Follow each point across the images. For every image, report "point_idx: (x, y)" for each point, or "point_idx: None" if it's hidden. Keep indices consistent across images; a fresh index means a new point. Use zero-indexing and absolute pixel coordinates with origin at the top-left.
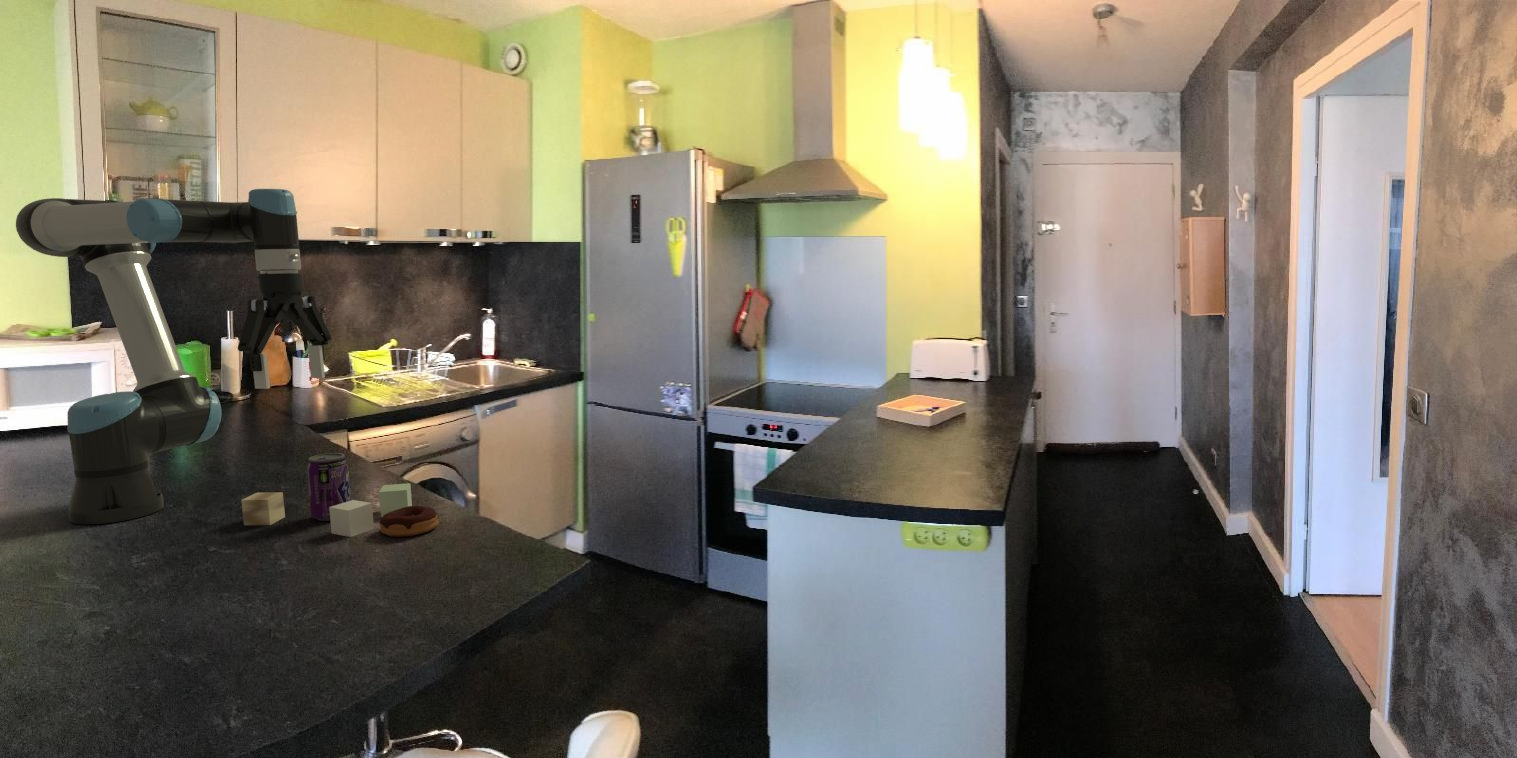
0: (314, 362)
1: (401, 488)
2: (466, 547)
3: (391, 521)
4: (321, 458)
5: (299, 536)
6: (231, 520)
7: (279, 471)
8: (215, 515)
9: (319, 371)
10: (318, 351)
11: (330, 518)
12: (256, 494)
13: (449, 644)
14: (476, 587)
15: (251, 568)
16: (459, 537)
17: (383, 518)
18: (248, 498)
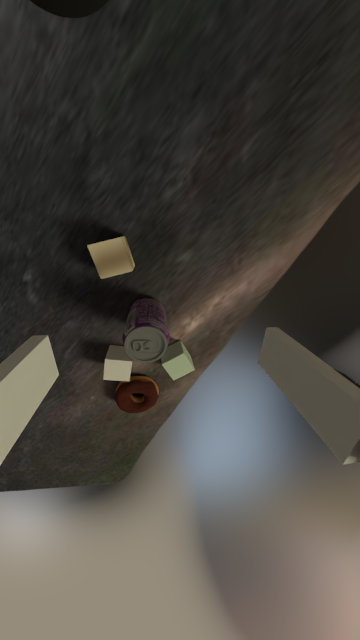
0: (294, 376)
1: (177, 373)
2: (119, 434)
3: (116, 400)
4: (139, 343)
5: (92, 326)
6: (103, 209)
7: (339, 43)
8: (111, 163)
9: (270, 369)
10: (322, 432)
11: (107, 352)
12: (113, 244)
13: (10, 490)
14: (69, 467)
15: (16, 349)
16: (134, 421)
17: (119, 392)
18: (95, 249)
